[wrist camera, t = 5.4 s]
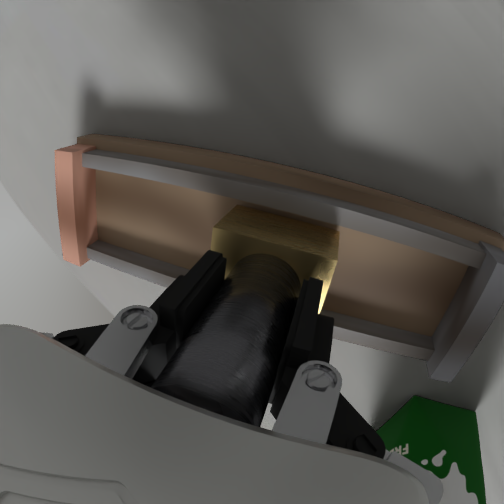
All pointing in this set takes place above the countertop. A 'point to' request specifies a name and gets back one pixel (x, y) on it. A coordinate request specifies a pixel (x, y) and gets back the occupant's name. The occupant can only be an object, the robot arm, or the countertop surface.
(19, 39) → the countertop surface
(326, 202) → the rail base
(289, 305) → the slider
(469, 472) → the milk carton
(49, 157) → the countertop surface
